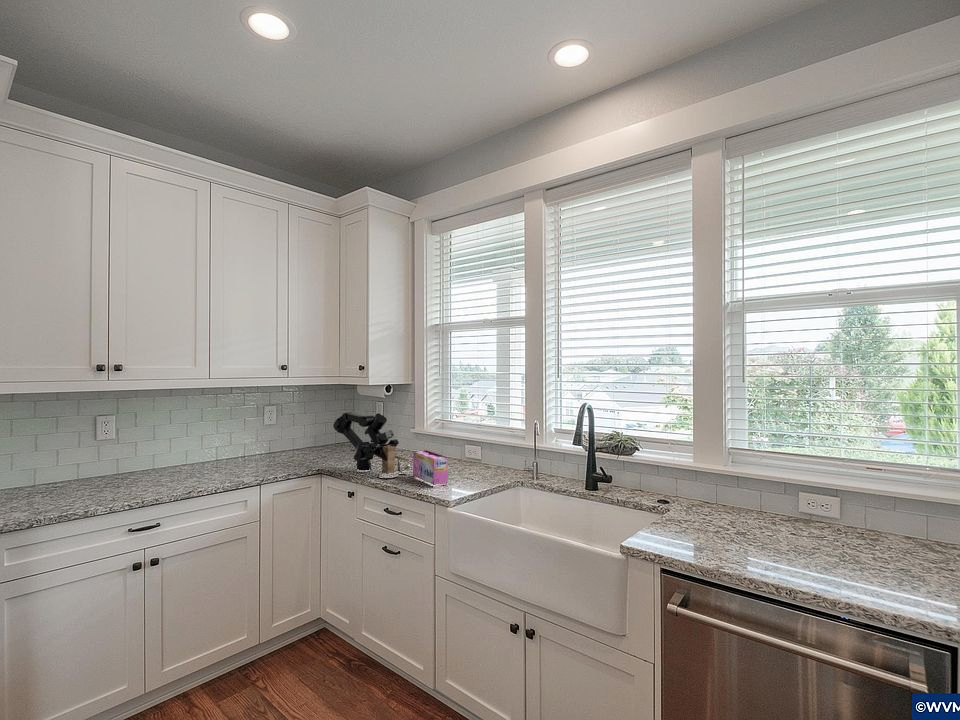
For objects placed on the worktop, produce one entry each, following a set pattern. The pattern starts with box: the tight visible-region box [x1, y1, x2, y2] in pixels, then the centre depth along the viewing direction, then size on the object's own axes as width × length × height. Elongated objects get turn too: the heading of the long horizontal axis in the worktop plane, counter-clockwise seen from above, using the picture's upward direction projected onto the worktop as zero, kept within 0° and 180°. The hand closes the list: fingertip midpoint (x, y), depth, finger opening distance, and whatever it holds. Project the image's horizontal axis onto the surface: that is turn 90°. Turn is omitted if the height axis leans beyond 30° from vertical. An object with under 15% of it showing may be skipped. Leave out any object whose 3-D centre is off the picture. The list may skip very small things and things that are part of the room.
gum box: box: [412, 449, 449, 485], centre depth 238 cm, size 24×8×14 cm, turn 33°
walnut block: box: [381, 446, 396, 474], centre depth 247 cm, size 4×4×13 cm
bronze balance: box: [395, 455, 413, 471], centre depth 254 cm, size 14×4×10 cm, turn 82°
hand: (390, 459), depth 246 cm, fingers closed on walnut block, 4 cm apart
